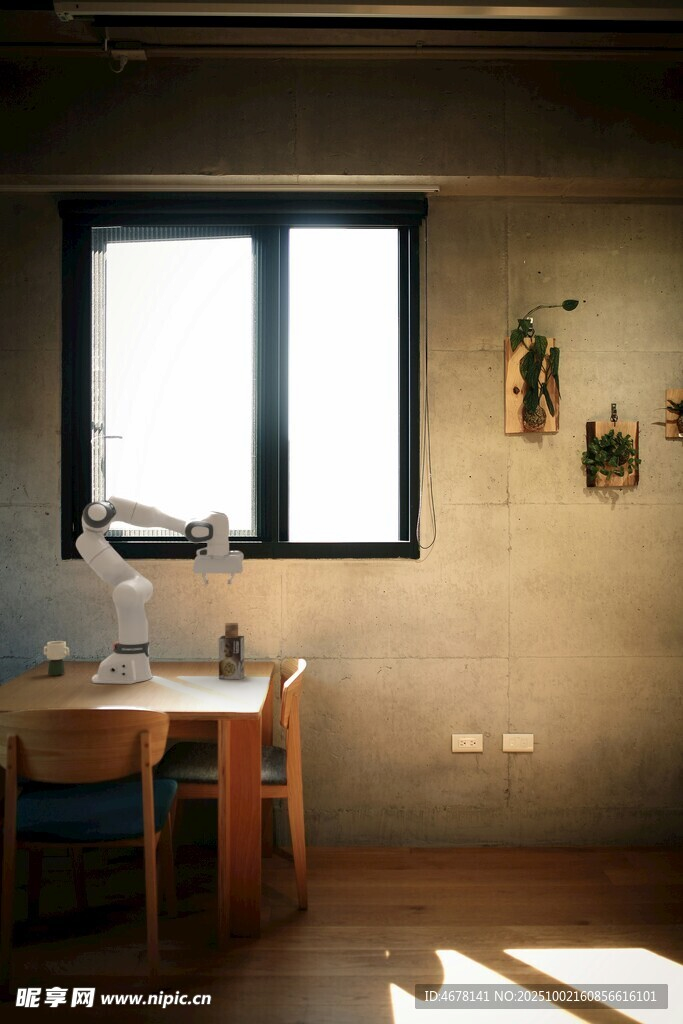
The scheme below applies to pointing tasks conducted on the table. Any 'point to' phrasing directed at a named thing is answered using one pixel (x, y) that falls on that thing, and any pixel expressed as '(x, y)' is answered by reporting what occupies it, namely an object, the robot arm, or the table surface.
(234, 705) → the table surface
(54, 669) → the trophy cup
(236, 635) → the walnut cube
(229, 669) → the coffee box
